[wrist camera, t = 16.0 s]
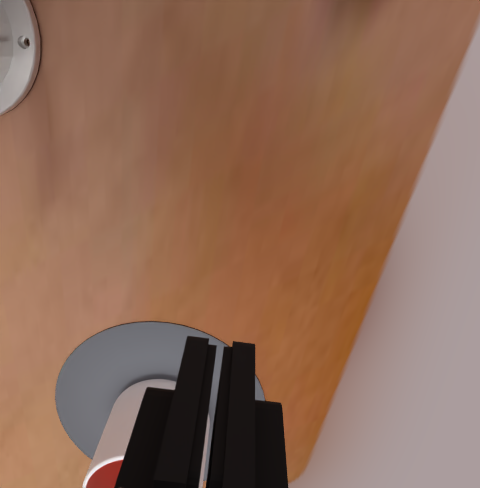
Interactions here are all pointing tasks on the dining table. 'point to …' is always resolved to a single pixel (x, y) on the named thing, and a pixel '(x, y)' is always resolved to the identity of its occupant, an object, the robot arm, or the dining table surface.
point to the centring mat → (124, 375)
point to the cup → (124, 435)
